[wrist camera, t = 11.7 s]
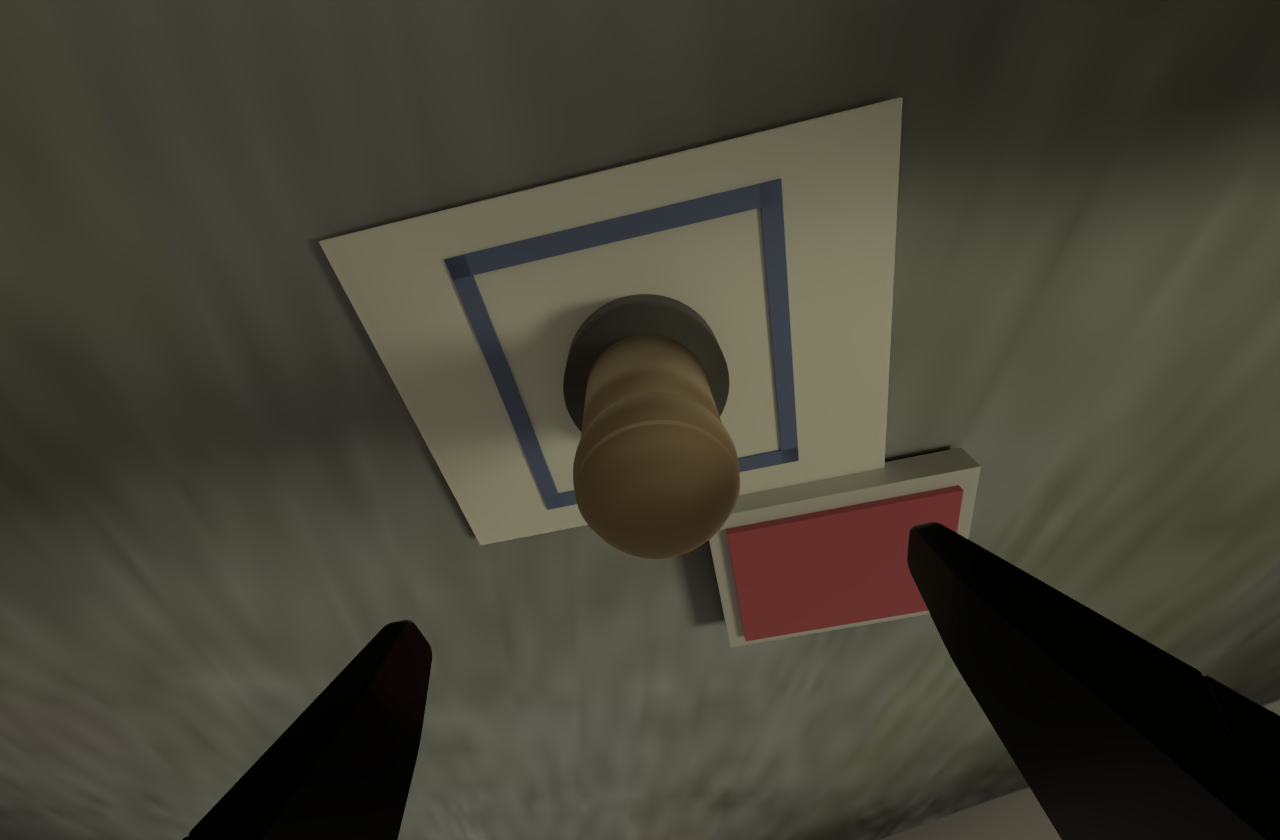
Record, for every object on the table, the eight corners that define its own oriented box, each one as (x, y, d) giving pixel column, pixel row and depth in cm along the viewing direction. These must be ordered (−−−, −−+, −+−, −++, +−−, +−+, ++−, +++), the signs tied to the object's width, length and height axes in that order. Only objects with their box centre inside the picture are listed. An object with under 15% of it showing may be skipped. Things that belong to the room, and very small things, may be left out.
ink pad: (961, 447, 19) (986, 471, 18) (940, 587, 23) (959, 615, 22) (700, 497, 20) (706, 524, 18) (725, 624, 24) (731, 653, 22)
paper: (897, 97, 13) (904, 97, 13) (880, 463, 19) (885, 469, 19) (323, 239, 14) (316, 242, 14) (482, 539, 20) (479, 547, 20)
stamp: (729, 417, 17) (795, 592, 11) (590, 446, 18) (575, 631, 11) (708, 277, 15) (779, 397, 8) (547, 313, 15) (496, 456, 9)
